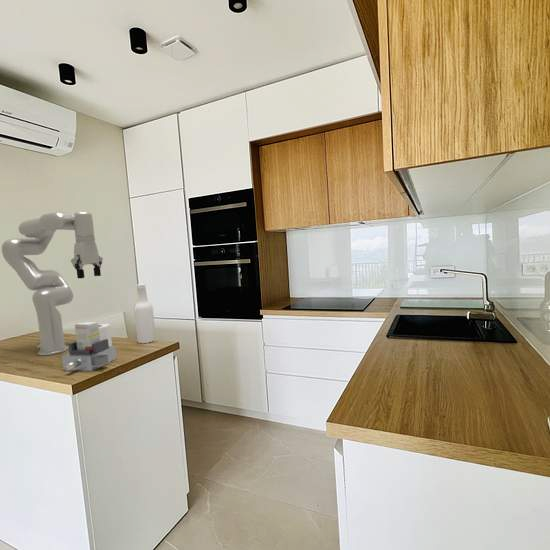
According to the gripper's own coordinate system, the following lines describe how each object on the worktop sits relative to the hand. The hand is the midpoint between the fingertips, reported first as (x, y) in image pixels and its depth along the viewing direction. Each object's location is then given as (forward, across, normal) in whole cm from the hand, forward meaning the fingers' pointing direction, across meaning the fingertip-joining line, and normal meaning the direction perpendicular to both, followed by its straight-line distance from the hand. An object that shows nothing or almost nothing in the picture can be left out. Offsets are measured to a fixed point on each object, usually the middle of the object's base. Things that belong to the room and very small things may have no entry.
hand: (89, 277), depth 150 cm
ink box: (+31, +13, +8) cm, 34 cm away
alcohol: (+36, -20, +12) cm, 43 cm away
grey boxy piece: (+36, +15, +10) cm, 41 cm away
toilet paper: (+36, -5, -3) cm, 37 cm away
